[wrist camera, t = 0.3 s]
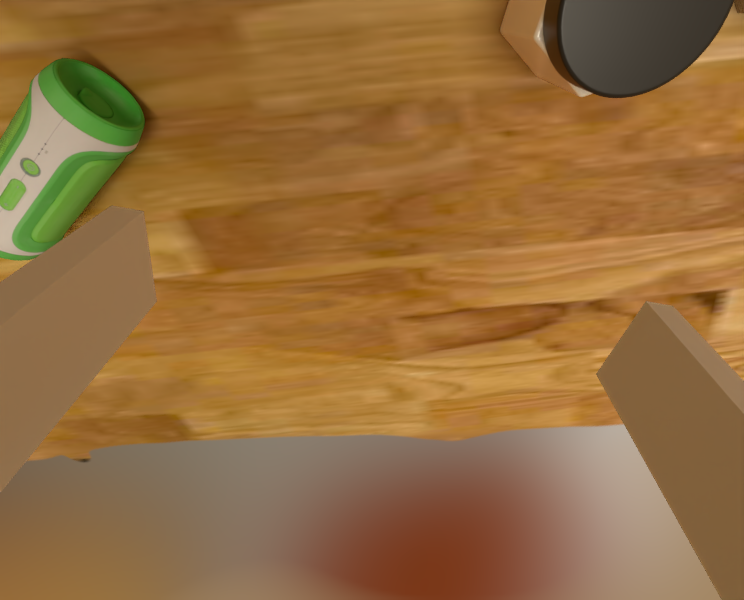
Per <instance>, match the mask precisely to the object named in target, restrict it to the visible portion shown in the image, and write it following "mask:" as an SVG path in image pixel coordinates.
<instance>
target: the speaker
mask: <svg viewBox="0 0 744 600" xmlns="http://www.w3.org/2000/svg"><path fill="white" fill-rule="evenodd" d="M144 125H145V118H144V114H143V112H142V109H141V107H140V106H139V104H138V103H137V101H136V100H135V99H134V97H133V96H132V95H131V94H130V93H129V92H128V91H127V90H126V89H125V88H124V87H123V86H122V85H121V84H120V83H119V82H117V81H116V80H115V79H113V78H112V77H111V76H109V75H108V74H106V73H105V72H103V71H101V70H100V69H98V68H96V67H94V66H92V65H90V64H88V63H85V62H82V61H79V60H75V59H68V58H62V59H58V60H56V61H54V62H53V63H51V64H50V65H48V66H47V67H45V68H44V69H43V70H42V71H41V72H40V73H39V74H37V75H36V76H35V77H34V79H33V80H32V81H31V84H30V87H29V93H28V94H27V96H26V97H25V99H24V101H23V102H22V104H21V106H20V107H19V109H18V111H17V112H16V114H15V116H14V117H13V119H12V121H11V122H10V124H9V126H8V127H7V129H6V131H5V133H4V134H3V136H2V138H1V139H0V257H1V258H5V259H10V260H30V259H34V258H36V257H38V256H39V255H41V254H42V253H43V252H45V251H46V250H48V249H49V248H51V247H52V246H54V245H55V244H56V243H58V242H59V241H61V240H62V239H63V237H64V234H65V233H66V232H67V230H68V229H69V228H70V226H71V225H72V224H73V223H74V221H75V220H76V219H77V218H78V216H79V215H80V214H81V213H82V211H83V210H84V209H85V208H86V206H87V205H88V204H89V203H90V201H91V200H92V199H93V198H94V196H95V195H96V194H97V193H98V191H99V190H100V189H101V188H102V186H103V185H104V184H105V183H106V182H107V180H108V179H109V178H110V177H111V175H112V174H113V173H114V172H115V170H116V169H117V168H118V167H119V165H120V164H121V163H122V162H123V160H124V159H125V158H126V156H127V155H128V154H130V153H132V152H133V151H134V150H135V149H136V147H137V145H138V143H139V140H140V138H141V135H142V132H143V129H144Z"/></svg>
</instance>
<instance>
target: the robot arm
mask: <svg viewBox="0 0 744 600" xmlns="http://www.w3.org/2000/svg"><path fill="white" fill-rule="evenodd" d="M156 302H157V300H156V293H155V286H154V279H153V272H152V266H151V259H150V252H149V245H148V238H147V232H146V225H145V218H144V211H140V210H134V209H128V208H123V207H117V206H110V207H109V208H107V209H106V210H104V211H103V212H101V213H100V214H99V215H97V216H96V217H94V218H93V219H91V220H90V221H88V222H87V223H85V224H84V225H83V226H81V227H80V228H78V229H77V230H75V231H74V232H72V233H71V234H70V235H68V236H67V237H65V238H64V239H62V240H61V241H59V242H58V243H56V244H55V245H54V246H52V247H51V248H49V249H48V250H46V251H45V252H43V253H42V254H41V255H39V256H38V257H36V258H35V259H33V260H32V261H30V262H29V263H27V264H26V265H25V266H23V267H22V268H20V269H19V270H17V271H16V272H14V273H13V274H12V275H10V276H9V277H7V278H6V279H4V280H3V281H1V282H0V493H1V491H2V490H3V489H4V488H5V486H6V485H7V484H8V482H10V480H11V479H12V477H14V475H15V474H16V473H17V472H18V470H19V469H20V468H21V467H22V466H23V464H24V463H25V462H26V461H27V459H28V458H29V457H30V456H31V455H32V453H33V452H34V451H35V450H36V448H37V447H38V446H39V445H40V444H41V442H42V441H43V440H44V439H45V437H46V436H47V435H48V434H49V433H50V431H51V430H52V429H53V428H54V426H55V425H56V424H57V423H58V422H59V420H60V419H61V418H62V417H63V415H64V414H65V413H66V412H67V411H68V409H69V408H70V407H71V406H72V404H73V403H74V402H75V401H76V399H77V398H78V397H79V396H80V395H81V393H82V392H83V391H84V390H85V388H86V387H87V386H88V385H89V384H90V382H91V381H92V380H93V379H94V377H95V376H96V375H97V374H98V373H99V371H100V370H101V369H102V368H103V366H104V365H105V364H106V363H107V362H108V360H109V359H110V358H111V357H112V355H113V354H114V353H115V352H116V351H117V349H118V348H119V347H120V346H121V344H122V343H123V342H124V341H125V339H126V338H127V337H128V336H129V335H130V333H131V332H132V331H133V330H134V328H135V327H136V326H137V325H138V324H139V322H140V321H141V320H142V319H143V317H144V316H145V315H146V314H147V313H148V311H149V310H150V309H151V308H152V306H153V305H154V304H155V303H156ZM596 375H597V376H598V378H599V380H600V382H601V384H602V385H603V387H604V389H605V391H606V393H607V394H608V396H609V398H610V400H611V402H612V403H613V405H614V407H615V409H616V411H617V412H618V414H619V416H620V418H621V420H622V421H623V423H624V425H625V427H626V429H627V430H628V432H629V434H630V436H631V438H632V439H633V441H634V443H635V445H636V447H637V448H638V450H639V452H640V454H641V456H642V457H643V459H644V461H645V462H646V464H647V466H648V468H649V470H650V472H651V474H652V475H653V477H654V479H655V481H656V482H657V484H658V486H659V488H660V490H661V491H662V493H663V495H664V497H665V499H666V501H667V502H668V504H669V506H670V508H671V509H672V511H673V513H674V515H675V516H676V519H677V520H678V522H679V524H680V526H681V528H682V529H683V531H684V533H685V535H686V536H687V538H688V540H689V542H690V544H691V546H692V547H693V549H694V551H695V553H696V555H697V556H698V558H699V560H700V562H701V563H702V565H703V567H704V569H705V571H706V572H707V574H708V576H709V578H710V580H711V581H712V583H713V585H714V586H715V589H716V590H717V592H718V594H719V596H720V598H721V599H722V600H744V381H743V380H742V379H741V378H740V377H739V376H738V374H737V373H736V372H735V371H734V370H733V369H732V368H731V367H730V366H729V365H728V364H727V363H726V362H725V361H724V360H723V359H722V358H721V356H720V355H719V354H718V353H717V352H716V351H715V350H714V349H713V348H712V347H711V346H710V345H709V344H708V343H707V342H706V341H705V340H704V338H703V337H702V336H701V335H700V334H699V333H698V332H697V331H696V330H695V329H694V328H693V327H692V326H691V325H690V324H689V323H688V321H687V320H686V319H685V318H684V317H683V316H682V315H681V314H680V313H679V312H678V311H677V310H676V309H675V308H674V307H673V306H670V305H664V304H659V303H653V302H648V301H646V302H645V303H644V305H643V306H642V308H641V309H640V311H639V312H638V314H637V315H636V317H635V318H634V319H633V321H632V322H631V324H630V325H629V327H628V328H627V330H626V331H625V333H624V334H623V336H622V337H621V338H620V340H619V341H618V343H617V344H616V346H615V347H614V349H613V350H612V352H611V353H610V355H609V356H608V357H607V359H606V360H605V362H604V363H603V365H602V366H601V368H600V369H599V371H598V372H597V374H596Z"/></svg>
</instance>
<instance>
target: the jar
mask: <svg viewBox="0 0 744 600" xmlns="http://www.w3.org/2000/svg"><path fill="white" fill-rule="evenodd" d="M733 2H734V0H509V2H508V5H507V8H506V12H505V15H504V18H503V21H502V24H501V27H500V33H501V34H502V35H503V37H504V38H505V39H506V40H507V41H508V43H509V44H510V45H511V46H512V47H513V49H514V50H515V51H516V52H517V54H518V55H519V56H520V57H521V58H522V60H523V61H524V62H525V63H526V64H527V66H528V67H529V68H530V69H531V71H532V72H533V73H534V74H535V75H536V76H537V77H539V78H541V79H543V80H545V81H547V82H549V83H551V84H553V85H556V86H558V87H560V88H562V89H564V90H566V91H568V92H570V93H573V94H575V95H577V96H579V97H584V96H587V95H590V94H596V95H599V96H603V97H608V98H626V97H632V96H637V95H641V94H644V93H647V92H649V91H652V90H654V89H656V88H658V87H660V86H662V85H664V84H666V83H668V82H669V81H671V80H672V79H674V78H675V77H677V76H678V75H679V74H681V73H682V72H683V71H684V70H686V69H687V68H688V67H689V66H690V65H691V64H692V63H693V62H694V61H695V60H697V58H698V57H699V56H700V55H701V54H702V53H703V52H704V51H705V50H706V48H707V47H708V46H709V45H710V43H711V42H712V41H713V39H714V38H715V36H716V35H717V33H718V32H719V30H720V28H721V27H722V25H723V23H724V21H725V20H726V18H727V16H728V14H729V11H730V9H731V7H732V4H733Z"/></svg>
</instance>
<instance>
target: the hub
mask: <svg viewBox="0 0 744 600" xmlns="http://www.w3.org/2000/svg"><path fill="white" fill-rule="evenodd" d="M734 3H735V6H736V9H737V12H738V13H744V0H734Z"/></svg>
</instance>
